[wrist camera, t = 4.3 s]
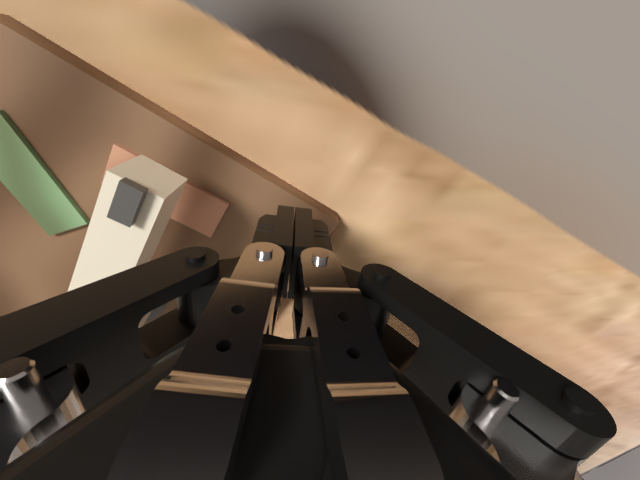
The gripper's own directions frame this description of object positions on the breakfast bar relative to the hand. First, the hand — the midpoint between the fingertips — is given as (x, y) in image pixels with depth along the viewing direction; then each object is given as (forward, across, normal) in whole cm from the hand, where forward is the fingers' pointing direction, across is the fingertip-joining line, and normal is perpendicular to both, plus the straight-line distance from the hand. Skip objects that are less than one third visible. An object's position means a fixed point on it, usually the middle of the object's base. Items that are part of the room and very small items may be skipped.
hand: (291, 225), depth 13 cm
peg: (+3, +8, +4) cm, 10 cm away
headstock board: (+5, +9, +6) cm, 12 cm away
